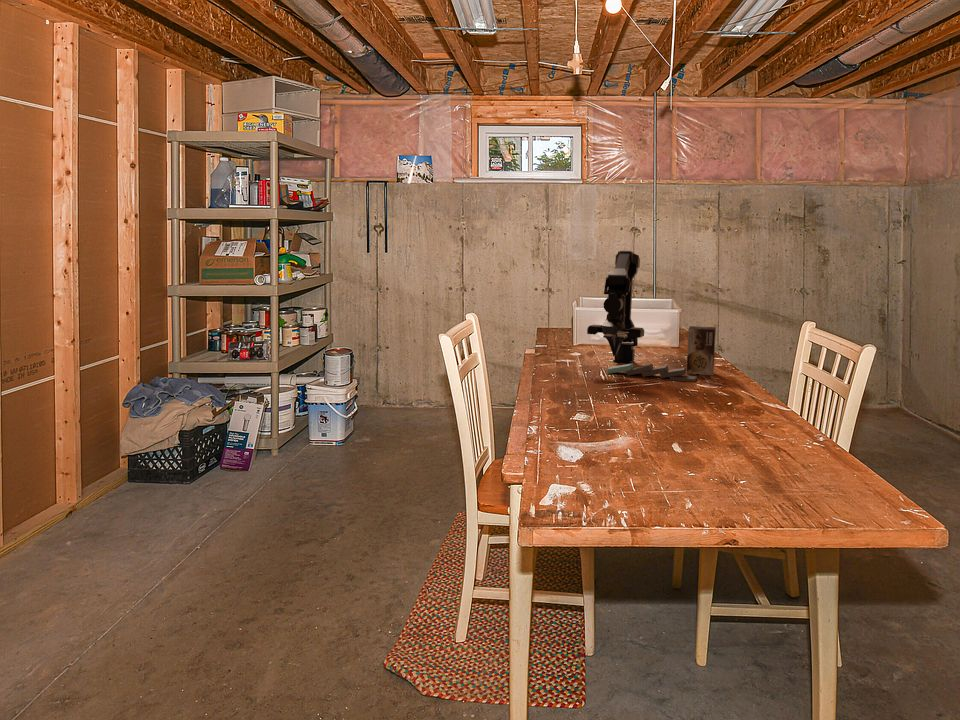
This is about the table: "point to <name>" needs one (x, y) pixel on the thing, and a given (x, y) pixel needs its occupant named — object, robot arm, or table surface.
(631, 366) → the teal domino
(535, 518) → the table surface
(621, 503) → the table surface
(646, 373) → the black domino
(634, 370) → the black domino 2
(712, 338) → the coffee box
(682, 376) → the black domino
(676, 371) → the black domino
